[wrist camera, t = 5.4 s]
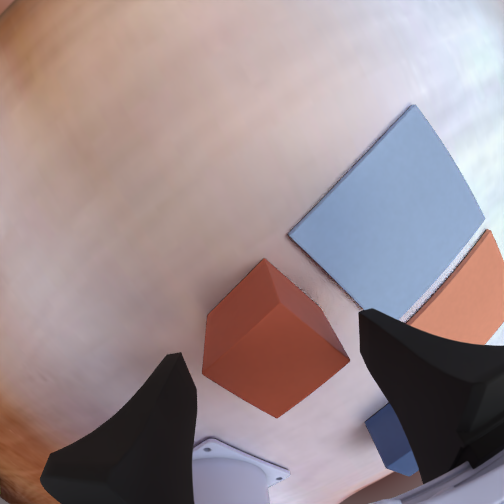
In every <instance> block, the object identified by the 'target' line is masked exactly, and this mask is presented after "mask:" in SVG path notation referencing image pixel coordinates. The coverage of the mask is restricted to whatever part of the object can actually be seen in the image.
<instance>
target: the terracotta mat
mask: <svg viewBox="0 0 504 504" xmlns="http://www.w3.org/2000/svg"><path fill="white" fill-rule="evenodd" d="M503 322H504V261H503V258H502V256H501V253H500V251H499V248H498V246H497V244H496V241H495V239H494V237H493V234H492V232H491V231H490V230H488V229H487V230H486V231H485V233H484V234H483V235H482V237H481V238H480V239H479V241H478V242H477V243H476V245H475V246H474V247H473V248H472V250H471V251H470V252H469V254H468V255H467V256H466V257H465V259H464V260H463V261H462V262H461V263H460V265H459V266H458V267H457V268H456V269H455V271H454V272H453V273H452V274H451V275H450V277H449V278H448V279H447V280H446V281H445V282H444V284H443V285H442V286H441V287H440V288H439V289H438V290H437V291H436V293H435V294H434V295H433V296H432V297H431V298H430V299H429V300H428V301H427V302H426V303H425V304H424V306H423V307H422V308H421V309H420V310H419V311H418V312H417V313H416V314H415V315H414V316H413V317H412V318H411V319H410V320H409V321H408V322H407V323H406V324H408V325H410V326H412V327H415V328H417V329H420V330H422V331H425V332H428V333H430V334H433V335H436V336H440V337H443V338H447V339H450V340H455V341H459V342H465V343H471V344H479V345H485V344H486V342H487V341H488V340H489V339H490V338H491V337H492V335H493V334H494V333H495V332H496V331H497V329H498V328H499V327H500V326H501V324H502V323H503Z"/></svg>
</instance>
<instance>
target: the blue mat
mask: <svg viewBox="0 0 504 504" xmlns="http://www.w3.org/2000/svg"><path fill="white" fill-rule="evenodd" d="M484 220H485V217H484V215H483V213H482V211H481V209H480V207H479V205H478V203H477V201H476V199H475V197H474V195H473V193H472V191H471V190H470V188H469V186H468V184H467V182H466V181H465V179H464V177H463V175H462V174H461V172H460V170H459V168H458V167H457V165H456V163H455V162H454V160H453V158H452V157H451V155H450V154H449V152H448V150H447V149H446V147H445V146H444V144H443V143H442V141H441V140H440V138H439V137H438V135H437V134H436V132H435V131H434V129H433V128H432V126H431V125H430V124H429V122H428V121H427V119H426V118H425V117H424V115H423V114H422V112H421V111H420V110H419V108H418V107H417V106H416V105H411V107H410V108H409V109H408V110H407V111H406V112H405V113H404V114H403V115H402V116H401V117H400V118H399V119H398V120H397V121H396V122H395V123H394V124H393V126H392V127H391V128H390V129H389V130H388V131H387V132H386V133H385V134H384V135H383V136H382V137H381V138H380V139H379V140H378V141H377V142H376V143H375V144H374V146H373V147H372V148H371V149H370V150H369V151H368V152H367V153H366V154H365V155H364V156H363V157H362V158H361V159H360V160H359V161H358V162H357V163H356V164H355V165H354V166H353V167H352V168H351V170H350V171H349V172H348V173H347V174H346V175H345V176H344V177H343V178H342V179H341V180H340V181H339V182H338V183H337V184H336V185H335V186H334V187H333V188H332V189H331V190H330V191H329V192H328V193H327V194H326V195H325V196H324V197H323V199H322V200H321V201H320V202H319V203H318V204H317V205H316V206H315V207H314V208H313V209H312V210H311V211H310V212H309V213H308V214H307V215H306V216H305V217H304V218H303V219H302V220H301V221H300V222H299V223H298V224H297V225H296V226H295V227H294V228H293V229H292V230H291V231H290V232H289V233H288V235H289V236H290V237H291V238H292V239H293V240H294V241H295V242H296V243H297V244H298V245H299V246H300V247H301V248H302V249H303V250H304V251H305V252H306V253H307V254H308V255H309V256H310V257H312V258H313V259H314V260H315V261H316V262H317V263H318V264H319V265H320V266H321V267H322V268H323V269H324V270H325V271H326V272H327V273H328V274H329V275H330V276H331V277H332V278H333V279H334V280H335V281H336V282H337V283H338V284H339V285H340V286H341V287H342V288H343V289H344V290H345V291H346V292H347V293H348V294H349V295H350V296H351V297H352V298H353V299H354V300H355V301H356V302H357V303H358V304H359V305H360V306H361V307H362V308H363V309H364V310H367V309H371V308H373V309H376V310H378V311H380V312H382V313H384V314H386V315H389V316H391V317H393V318H395V319H397V320H399V319H400V318H401V317H402V316H403V315H404V314H405V313H406V312H407V311H408V310H409V309H410V308H411V306H412V305H413V304H414V303H415V302H416V301H417V300H418V299H419V298H420V297H421V296H422V295H423V294H424V293H425V292H426V291H427V289H428V288H429V287H430V286H431V285H432V284H433V283H434V282H435V281H436V279H437V278H438V277H439V276H440V275H441V274H442V273H443V271H444V270H445V269H446V268H447V267H448V266H449V264H450V263H451V262H452V261H453V260H454V258H455V257H456V256H457V255H458V254H459V252H460V251H461V250H462V249H463V247H464V246H465V245H466V244H467V242H468V241H469V240H470V238H471V237H472V236H473V235H474V233H475V232H476V231H477V229H478V228H479V227H480V225H481V224H482V223H483V221H484Z"/></svg>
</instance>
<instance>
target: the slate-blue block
mask: <svg viewBox="0 0 504 504" xmlns="http://www.w3.org/2000/svg"><path fill="white" fill-rule="evenodd" d="M365 424H366V427H367V429H368V431H369V433H370V435H371V437H372V439H373V441H374V443H375V446H376V448H377V450H378V452H379V454H380V456H381V458H382V461H383V463H384V465H385V467H386V468H387V469H390V470H392V471H395V472H398V473H401V474H404V475H407V476H411V475H412V474H414V473H415V472H417V471H418V470H419V468H418V466H417V463H416V460H415V457H414V455H413V452H412V449H411V447H410V444H409V442H408V439H407V437H406V435H405V432H404V430H403V428H402V426H401V424H400V421H399V419H398V417H397V415H396V413H395V411H394V410H393V408H392V406H391V405H390V403H389V404H387V405H386V406H385V407H384V408H382V409H381V410H380V411H379V412H377V413H376V414H375V415H373V416H372V417H371V418H370V419H368V420H367V421H366V422H365Z"/></svg>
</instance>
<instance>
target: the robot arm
mask: <svg viewBox="0 0 504 504" xmlns="http://www.w3.org/2000/svg"><path fill="white" fill-rule="evenodd" d="M359 334H360V353H361V355H362V357H363V359H364V362H365V364H366V366H367V368H368V370H369V372H370V373H371V375H372V377H373V378H374V380H375V381H376V383H377V384H378V386H379V388H380V389H381V391H382V392H383V394H384V395H385V397H386V398H387V400H388V401H389V403H390V405H391V406H392V408H393V410H394V411H395V413H396V415H397V417H398V419H399V421H400V424H401V426H402V428H403V430H404V432H405V435H406V437H407V439H408V442H409V444H410V447H411V449H412V452H413V455H414V457H415V460H416V463H417V466H418V468H419V472H420V475H421V478H422V481H423V485H421V486H419V487H417V488H415V489H413V490H410V491H408V492H406V493H403V494H401V495H399V496H396V497H394V498H391V499H384V500H380V501H376V502H373V503H369V504H504V346H492V345H479V344H471V343H465V342H459V341H455V340H450V339H447V338H443V337H440V336H436V335H433V334H430V333H428V332H425V331H422V330H420V329H417V328H415V327H412V326H410V325H408V324H406V323H403V322H401V321H399V320H397V319H395V318H393V317H391V316H389V315H386V314H384V313H382V312H380V311H378V310H376V309H373V308H371V309H367V310H364V311H360V312H359ZM196 417H197V389H196V386H195V384H194V382H193V380H192V377H191V375H190V373H189V370H188V368H187V365H186V363H185V361H184V358H183V356H182V353H181V352H180V353H174V354H168V355H166V356H165V358H164V359H163V360H162V361H161V363H160V364H159V365H158V366H157V368H156V369H155V370H154V372H153V373H152V374H151V375H150V377H149V378H148V379H147V381H146V382H145V383H144V384H143V386H142V387H141V388H140V389H139V390H138V391H137V392H136V393H135V395H134V396H133V397H132V398H131V399H130V400H129V401H128V402H127V403H126V404H125V405H124V406H123V407H122V408H121V409H120V410H119V411H118V412H117V413H116V414H115V415H114V416H112V417H111V418H110V419H109V420H107V421H106V422H105V423H104V424H102V425H101V426H100V427H98V428H97V429H96V430H94V431H93V432H91V433H90V434H88V435H87V436H85V437H83V438H82V439H80V440H78V441H76V442H75V443H73V444H71V445H69V446H67V447H64V448H62V449H60V450H58V451H56V452H53V453H51V454H50V456H49V458H48V460H47V463H46V465H45V467H44V470H43V472H42V475H41V477H40V482H41V484H42V486H43V487H44V489H45V490H46V491H47V492H48V493H49V494H50V495H51V496H53V497H54V498H55V499H56V500H57V501H59V502H60V503H61V504H270V499H269V492H268V488H269V487H271V486H273V485H275V484H277V483H279V482H281V481H282V480H284V479H286V478H288V477H289V476H290V472H289V471H288V470H286V469H283V468H281V467H278V466H275V465H273V464H270V463H268V462H265V461H263V460H260V459H258V458H256V457H253V456H251V455H249V454H246V453H244V452H242V451H240V450H237V449H235V448H233V447H231V446H229V445H226V444H224V443H222V442H220V441H218V440H216V439H208V440H206V441H204V442H202V443H201V444H199V445H198V446H196V447H195V448H193V444H194V435H195V426H196Z"/></svg>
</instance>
